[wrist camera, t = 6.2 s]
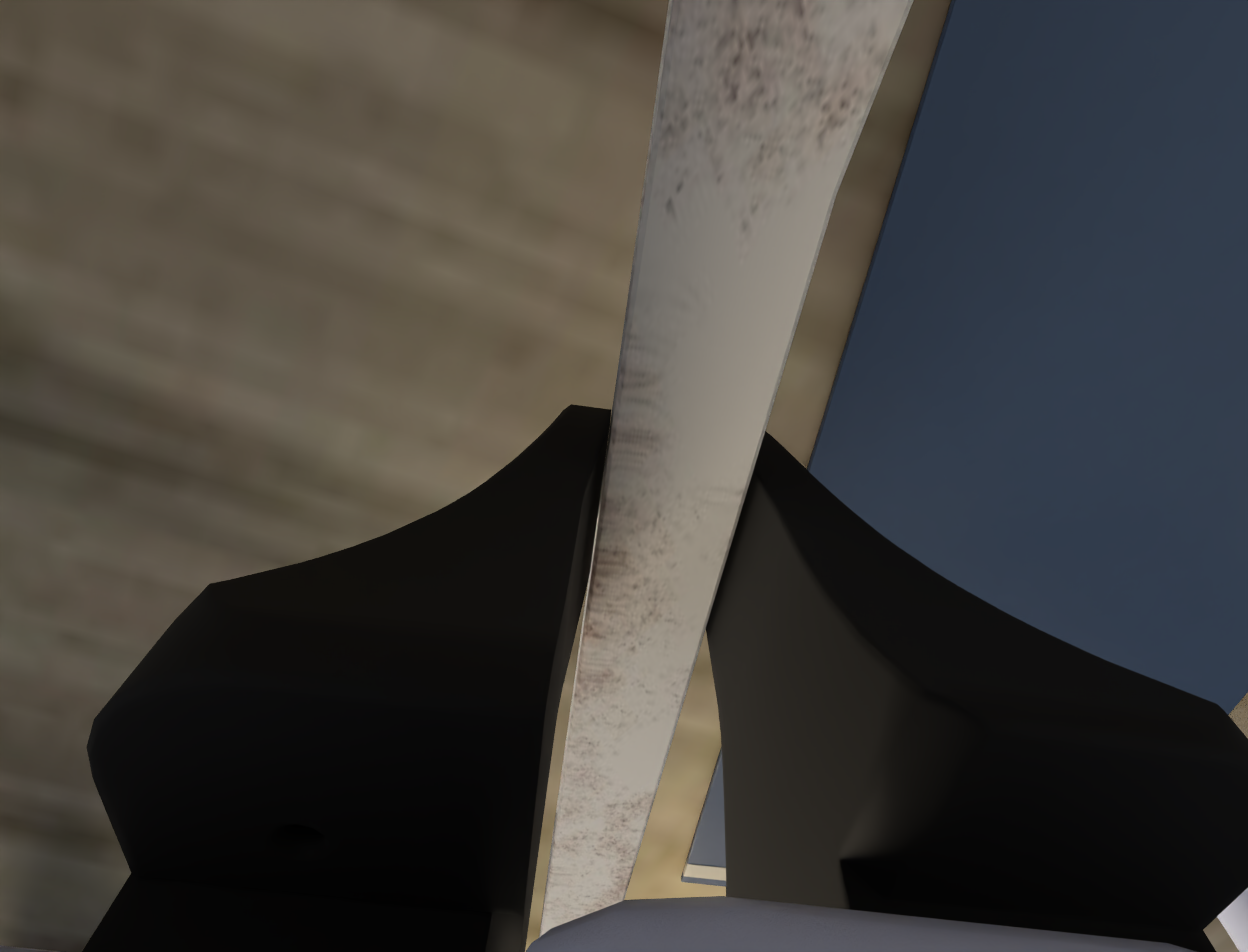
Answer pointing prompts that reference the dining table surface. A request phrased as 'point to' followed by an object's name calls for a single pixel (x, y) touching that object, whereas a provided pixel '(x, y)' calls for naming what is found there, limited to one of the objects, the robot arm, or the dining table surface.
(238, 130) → the dining table surface
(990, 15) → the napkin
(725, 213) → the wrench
